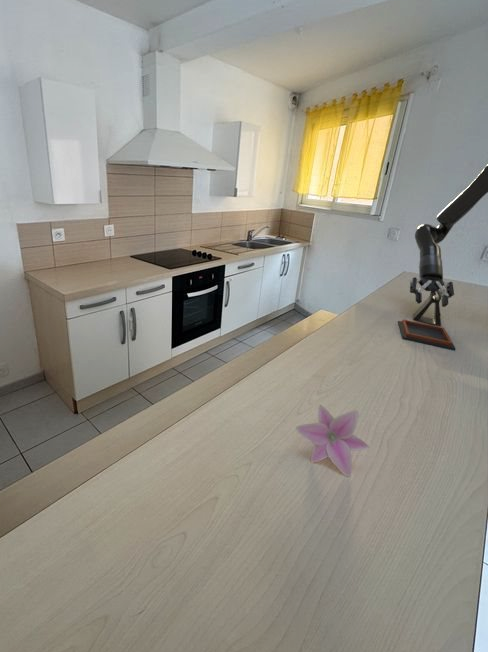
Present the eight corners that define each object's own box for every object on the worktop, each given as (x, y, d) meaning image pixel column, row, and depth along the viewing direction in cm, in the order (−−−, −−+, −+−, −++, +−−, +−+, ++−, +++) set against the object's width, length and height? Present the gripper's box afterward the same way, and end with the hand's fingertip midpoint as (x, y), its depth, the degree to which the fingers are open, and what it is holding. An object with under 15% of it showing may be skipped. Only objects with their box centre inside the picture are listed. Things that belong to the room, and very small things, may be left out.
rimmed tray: (444, 332, 118) (446, 327, 118) (454, 350, 106) (457, 345, 105) (397, 322, 124) (399, 317, 123) (402, 338, 112) (404, 333, 111)
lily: (283, 443, 67) (293, 429, 60) (316, 405, 72) (329, 388, 64) (333, 491, 62) (351, 483, 54) (366, 447, 66) (387, 434, 59)
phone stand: (412, 320, 127) (423, 291, 122) (412, 315, 132) (422, 287, 127) (440, 326, 123) (452, 297, 118) (439, 321, 127) (450, 292, 123)
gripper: (415, 261, 129) (415, 297, 123) (456, 265, 125) (459, 303, 120) (406, 270, 136) (406, 305, 130) (445, 274, 132) (447, 311, 126)
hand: (431, 304), depth 125 cm, fingers open, 8 cm apart
